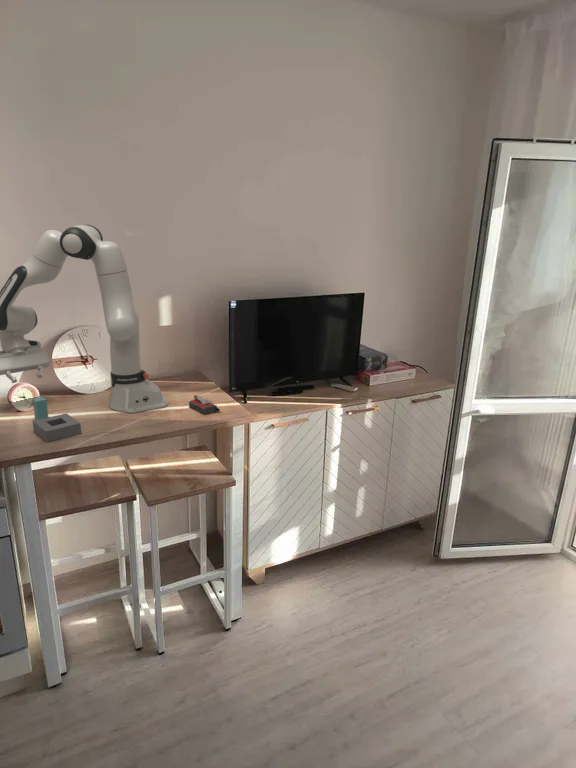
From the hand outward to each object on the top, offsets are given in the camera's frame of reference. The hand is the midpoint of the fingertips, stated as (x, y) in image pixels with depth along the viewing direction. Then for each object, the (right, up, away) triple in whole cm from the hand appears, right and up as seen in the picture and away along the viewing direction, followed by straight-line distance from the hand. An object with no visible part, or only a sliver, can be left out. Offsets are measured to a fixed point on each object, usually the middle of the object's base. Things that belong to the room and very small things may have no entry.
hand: (27, 379), depth 218 cm
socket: (+17, -19, -14) cm, 29 cm away
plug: (+7, -15, -3) cm, 16 cm away
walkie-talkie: (+63, -11, +14) cm, 66 cm away
